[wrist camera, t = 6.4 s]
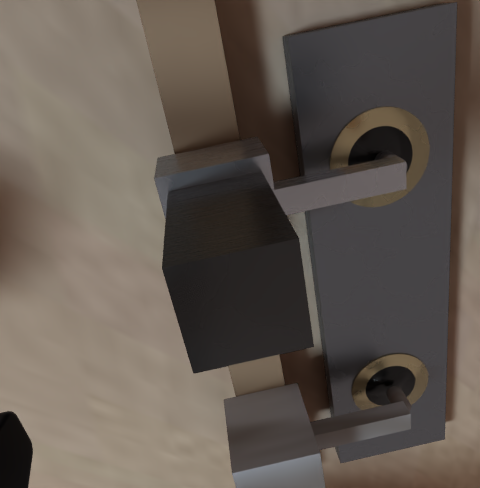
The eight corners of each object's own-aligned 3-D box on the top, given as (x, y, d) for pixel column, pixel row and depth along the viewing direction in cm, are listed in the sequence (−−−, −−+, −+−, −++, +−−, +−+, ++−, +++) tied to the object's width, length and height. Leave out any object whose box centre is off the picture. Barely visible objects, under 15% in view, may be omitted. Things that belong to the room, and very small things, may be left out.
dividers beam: (392, 447, 27) (440, 541, 22) (248, 480, 27) (263, 583, 22) (370, -47, 16) (456, -78, 11) (122, 4, 16) (95, -5, 11)
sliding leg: (396, 206, 18) (524, 315, 12) (183, 252, 18) (186, 391, 11) (392, 105, 17) (542, 164, 10) (158, 155, 16) (141, 250, 10)
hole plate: (435, 425, 27) (445, 440, 26) (335, 448, 26) (341, 465, 25) (442, 3, 17) (458, 2, 16) (282, 36, 17) (289, 37, 16)
